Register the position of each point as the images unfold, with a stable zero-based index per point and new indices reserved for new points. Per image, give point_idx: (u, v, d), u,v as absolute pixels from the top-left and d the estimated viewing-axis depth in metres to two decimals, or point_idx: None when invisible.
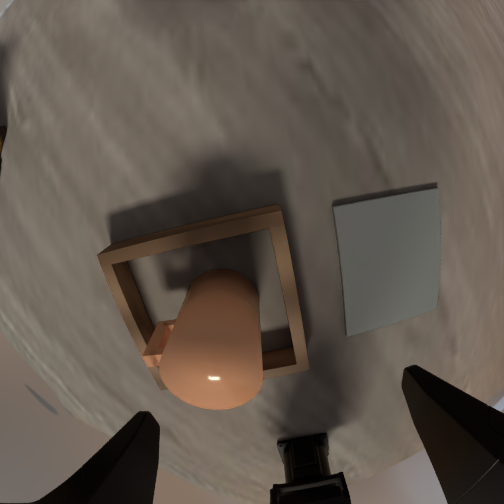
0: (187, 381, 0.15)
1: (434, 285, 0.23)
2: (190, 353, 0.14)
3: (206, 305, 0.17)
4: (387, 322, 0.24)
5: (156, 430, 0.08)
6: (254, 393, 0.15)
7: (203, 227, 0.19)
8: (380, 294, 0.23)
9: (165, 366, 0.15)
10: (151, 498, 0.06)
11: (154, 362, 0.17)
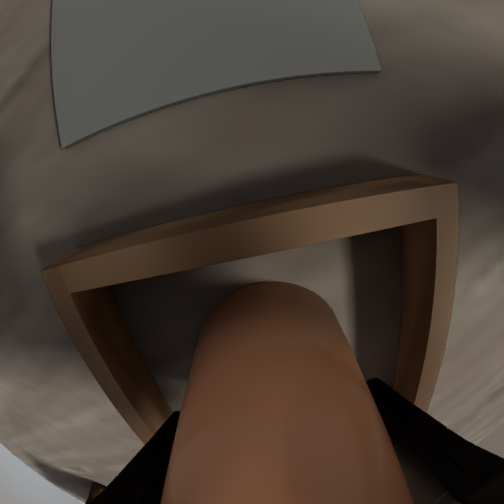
0: None
1: None
2: None
3: None
4: None
5: None
6: None
7: None
8: None
9: None
10: None
11: None
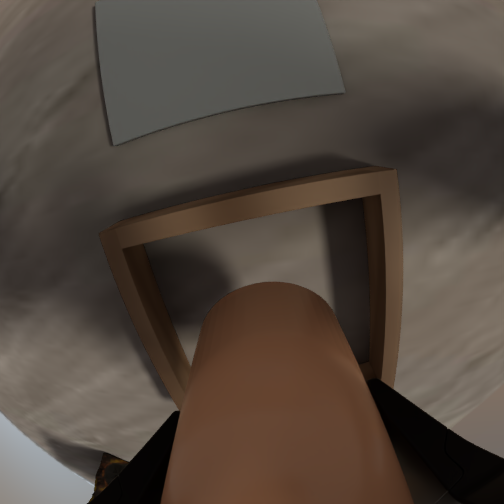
0: None
1: None
2: None
3: None
4: (318, 23, 0.11)
5: None
6: None
7: None
8: (258, 42, 0.11)
9: None
10: None
11: None
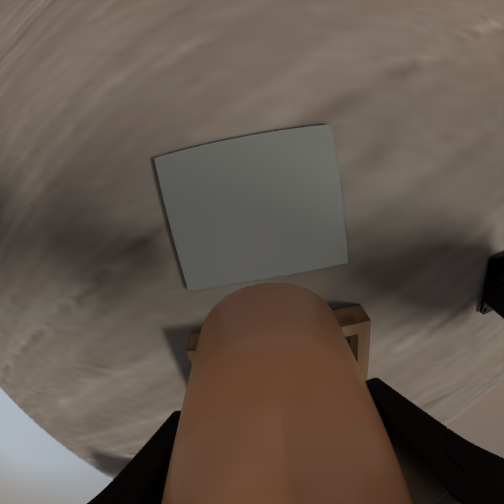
0: None
1: (290, 137, 0.17)
2: None
3: None
4: (338, 209, 0.19)
5: None
6: None
7: None
8: (293, 227, 0.19)
9: None
10: None
11: None
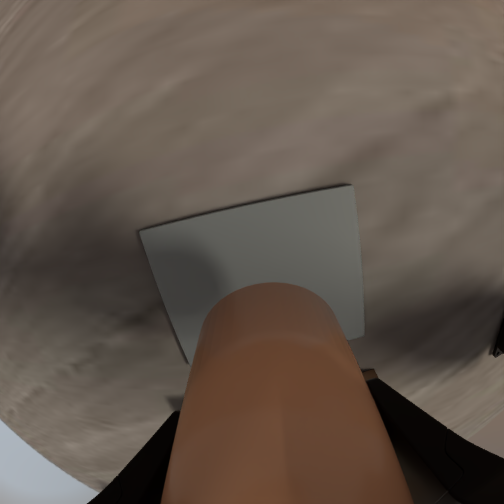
0: None
1: (304, 205, 0.15)
2: None
3: None
4: (357, 283, 0.16)
5: None
6: None
7: None
8: None
9: None
10: None
11: None
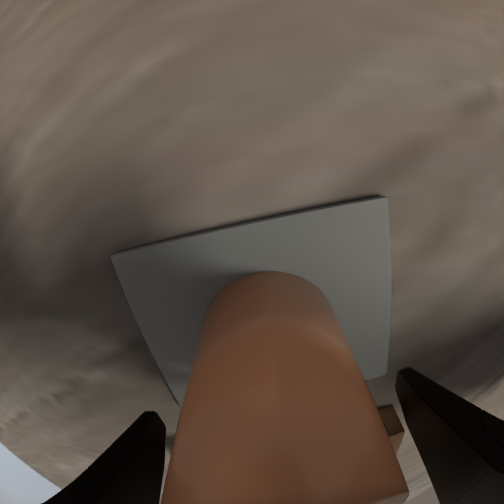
0: None
1: (325, 223, 0.11)
2: None
3: None
4: (384, 318, 0.13)
5: (162, 430, 0.08)
6: (371, 489, 0.03)
7: None
8: None
9: None
10: (157, 499, 0.06)
11: None
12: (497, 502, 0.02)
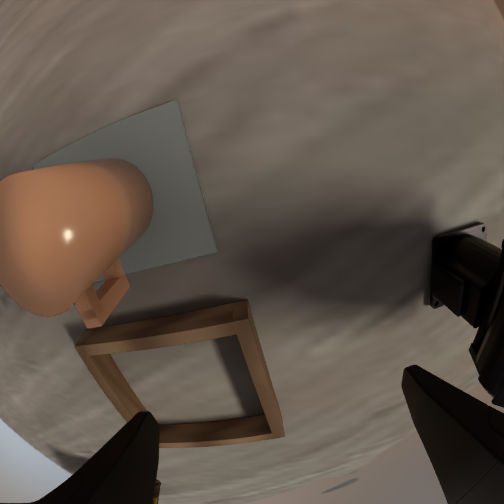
0: (39, 281, 0.09)
1: (135, 123, 0.15)
2: (4, 270, 0.09)
3: None
4: (194, 191, 0.17)
5: (156, 430, 0.08)
6: (35, 181, 0.08)
7: None
8: None
9: (30, 305, 0.09)
10: (151, 498, 0.06)
11: (89, 314, 0.12)
12: None
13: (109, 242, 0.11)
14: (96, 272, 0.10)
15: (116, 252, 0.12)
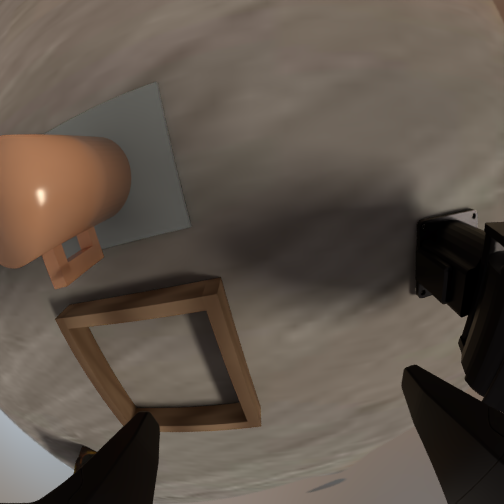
0: (10, 233, 0.09)
1: (118, 104, 0.15)
2: None
3: None
4: (169, 166, 0.17)
5: (156, 430, 0.08)
6: (14, 140, 0.08)
7: None
8: None
9: (2, 258, 0.09)
10: (151, 498, 0.06)
11: (57, 274, 0.12)
12: None
13: (75, 201, 0.11)
14: (61, 227, 0.10)
15: (85, 214, 0.12)
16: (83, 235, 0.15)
